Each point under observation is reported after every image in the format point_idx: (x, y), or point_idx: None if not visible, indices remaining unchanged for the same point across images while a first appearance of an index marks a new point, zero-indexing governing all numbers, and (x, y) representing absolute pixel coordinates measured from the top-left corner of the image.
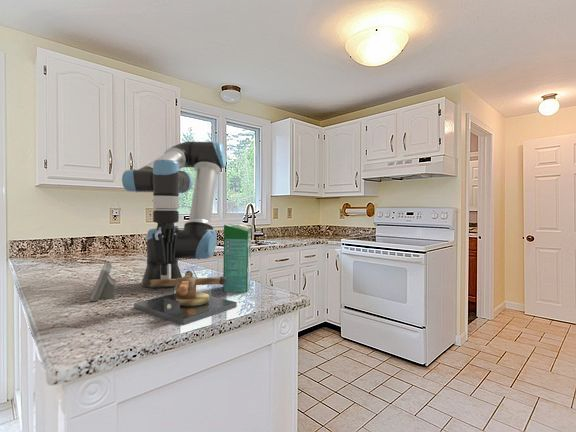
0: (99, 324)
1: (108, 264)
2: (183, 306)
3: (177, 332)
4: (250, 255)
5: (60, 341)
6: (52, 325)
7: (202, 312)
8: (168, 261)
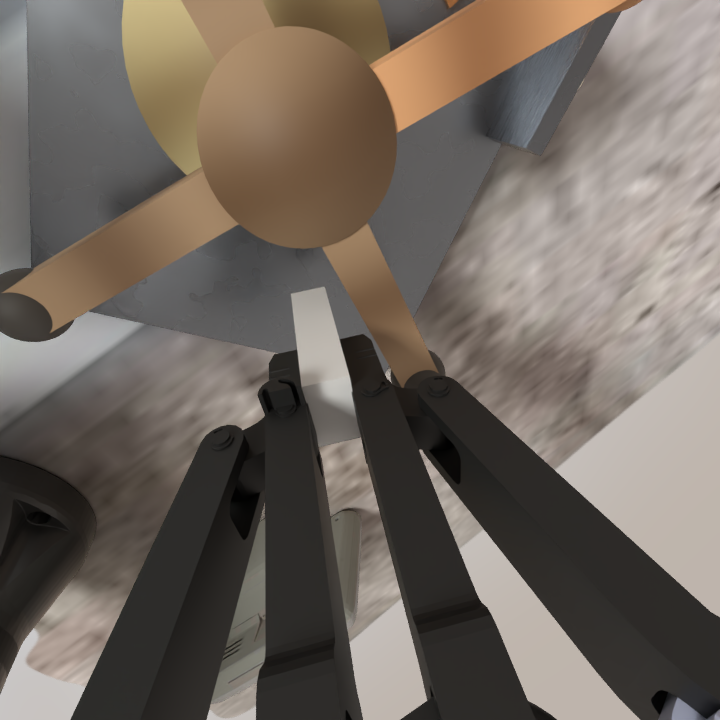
0: (565, 334)
1: (248, 679)
2: None
3: None
4: None
5: (697, 320)
6: (568, 432)
7: None
8: (355, 401)
